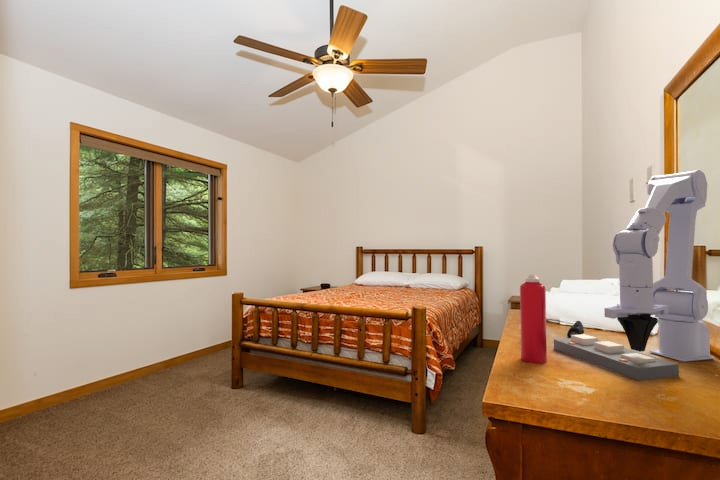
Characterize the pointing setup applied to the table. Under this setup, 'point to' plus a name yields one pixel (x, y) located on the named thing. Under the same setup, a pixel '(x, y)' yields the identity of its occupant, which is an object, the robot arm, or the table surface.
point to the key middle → (609, 347)
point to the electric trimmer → (575, 329)
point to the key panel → (619, 361)
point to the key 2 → (638, 358)
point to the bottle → (533, 321)
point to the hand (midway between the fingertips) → (637, 350)
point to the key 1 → (583, 339)
